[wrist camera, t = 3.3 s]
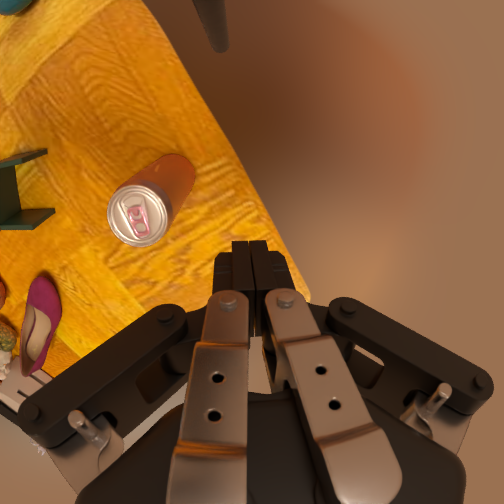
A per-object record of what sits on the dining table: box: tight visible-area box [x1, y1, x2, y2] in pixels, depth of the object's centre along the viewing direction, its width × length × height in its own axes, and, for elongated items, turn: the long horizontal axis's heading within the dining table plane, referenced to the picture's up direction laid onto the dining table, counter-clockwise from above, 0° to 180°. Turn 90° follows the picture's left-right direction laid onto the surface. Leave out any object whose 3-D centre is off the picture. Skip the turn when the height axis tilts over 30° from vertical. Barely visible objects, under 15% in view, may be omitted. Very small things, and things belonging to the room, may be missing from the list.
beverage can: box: [107, 154, 195, 247], centre depth 28 cm, size 6×6×15 cm
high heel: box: [20, 276, 62, 377], centre depth 40 cm, size 9×26×12 cm, turn 150°
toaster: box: [0, 356, 52, 456], centre depth 48 cm, size 23×25×17 cm
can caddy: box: [0, 149, 55, 231], centre depth 29 cm, size 9×11×7 cm
